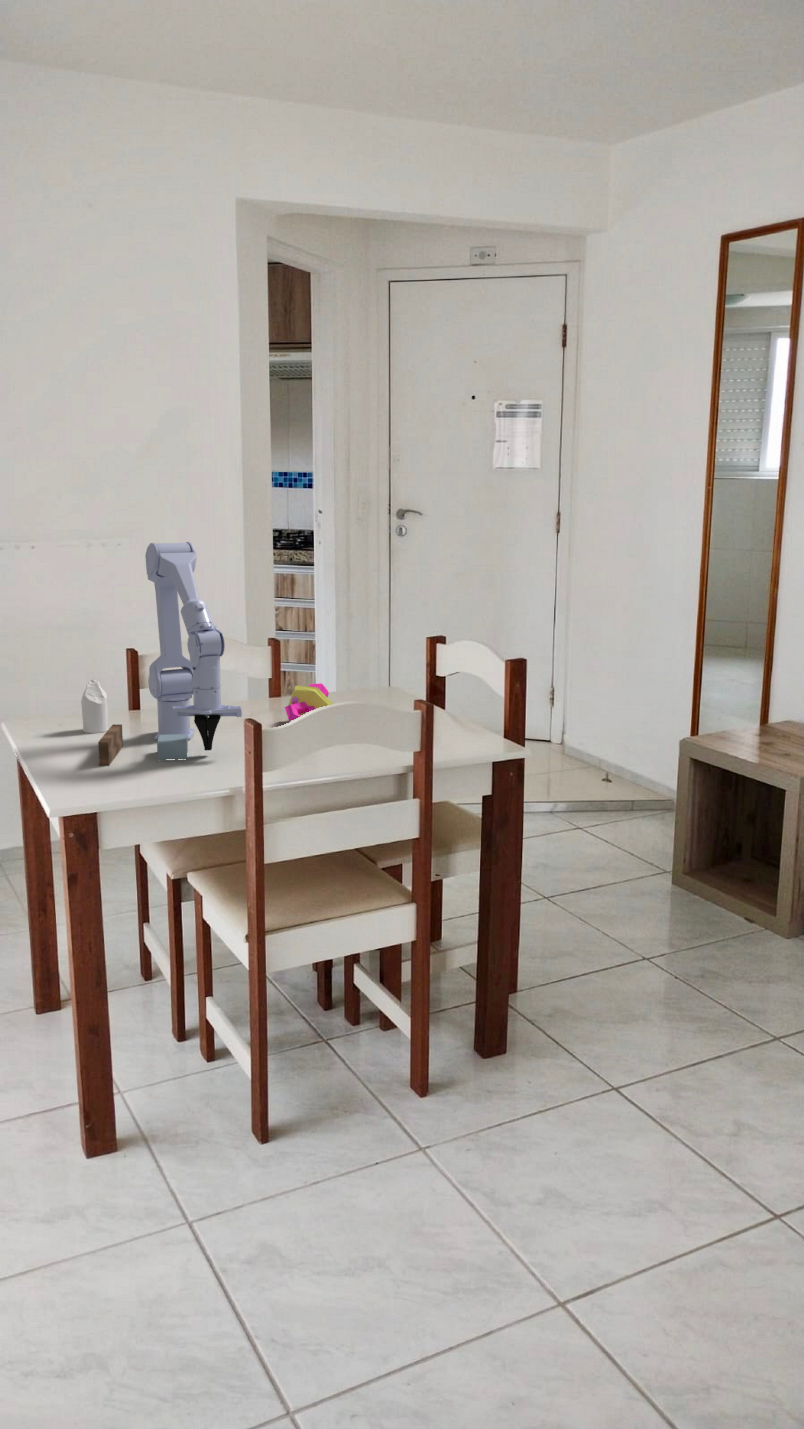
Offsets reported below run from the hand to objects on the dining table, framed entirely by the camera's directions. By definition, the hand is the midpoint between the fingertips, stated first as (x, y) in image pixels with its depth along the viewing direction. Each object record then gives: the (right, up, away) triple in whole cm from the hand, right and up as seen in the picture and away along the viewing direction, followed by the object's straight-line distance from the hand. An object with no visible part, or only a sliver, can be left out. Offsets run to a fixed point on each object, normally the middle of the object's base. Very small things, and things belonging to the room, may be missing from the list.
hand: (208, 749), depth 241 cm
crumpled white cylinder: (-30, +4, +21) cm, 37 cm away
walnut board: (-20, -1, -1) cm, 21 cm away
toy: (+19, +5, +33) cm, 38 cm away
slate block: (-7, -2, 0) cm, 8 cm away
